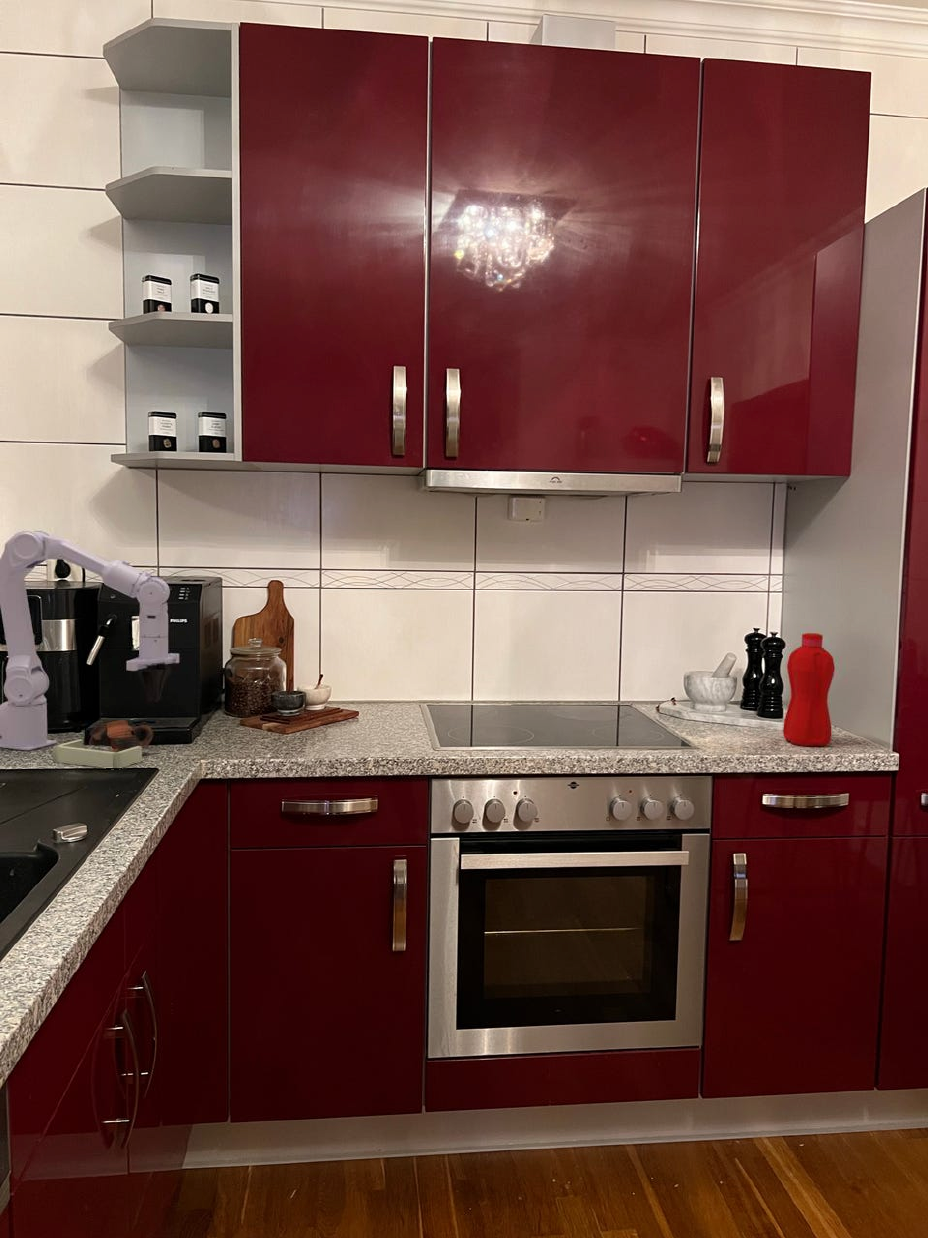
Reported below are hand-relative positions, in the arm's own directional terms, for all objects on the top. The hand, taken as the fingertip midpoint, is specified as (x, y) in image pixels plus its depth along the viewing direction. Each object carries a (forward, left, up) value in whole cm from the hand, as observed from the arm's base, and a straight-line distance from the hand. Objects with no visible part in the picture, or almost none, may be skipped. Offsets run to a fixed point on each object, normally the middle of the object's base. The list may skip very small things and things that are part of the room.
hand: (153, 700), depth 195 cm
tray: (0, -17, -9) cm, 19 cm away
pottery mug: (+1, -11, -10) cm, 15 cm away
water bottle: (+129, +63, -9) cm, 144 cm away
